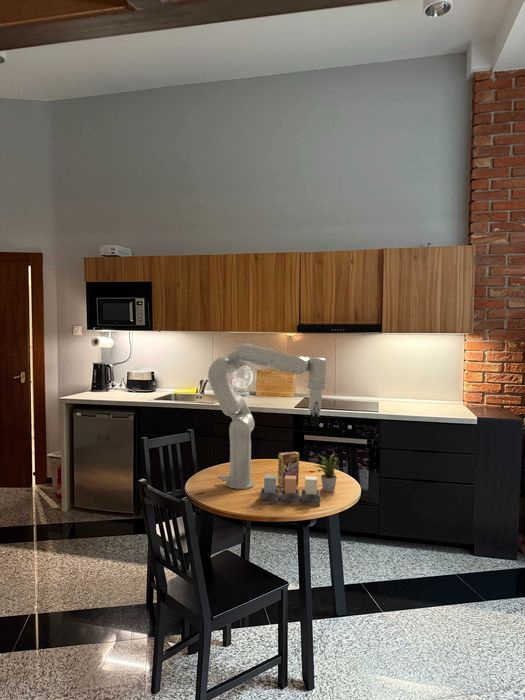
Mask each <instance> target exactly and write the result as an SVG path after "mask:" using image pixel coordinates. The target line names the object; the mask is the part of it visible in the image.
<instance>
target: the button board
mask: <svg viewBox="0 0 525 700" xmlns="http://www.w3.org/2000/svg"><path fill="white" fill-rule="evenodd" d="M280 488H281V487H276V493H264V487H261V490H260V494H259V495H260V497H259V498H260V500H259V501H260V504H261V505H276V506H277V505H280V506H281V505H282V506H284V505H285V506H308V507H311V506H314V507H320V506H321V490H320V489H317V495H312V494H305V488H302V489H301V491H300V489H299V488H296V494H285V487H282V488H281V490H280ZM300 493H301V494H300Z"/></svg>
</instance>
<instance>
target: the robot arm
mask: <svg viewBox="0 0 525 700" xmlns="http://www.w3.org/2000/svg"><path fill="white" fill-rule="evenodd" d="M249 364H250V365H254V366H259V367H263V368H268V369H273V370H278V371H280V372H286V373H290V374H294V375H302V374H304V373H308V381H307V389H309V397H308V411H309V412H310V419H309V420H310V422H311V426H312V427H320V412H321V409H322V400H323V399H322V397H323V390H325V388H326V376H327V375H326V371H327V370H326V369H327V360H326V358H324V357H308V356H301V355H299V356H295V355H290V354H286V353H281V352H278V351H277V350H275V349H272V348H268V347H264V346H263V347H262V346H257V345H253V344H251V343H242V344H240V345H238V346H237V347H236V349H235V350H234V351H232V352H230V353H229V354H227V355H226V356H221V357H218V358H216V359H215V360H214V361H213V362H212V363H211V365H210V366H209V368H208V372H207V373H208V374H207V379H208V382H209V385H210V387H211V389H212V391H213V394H214V397H215V398H216V400H217V402H218V405H219V407H220V408H221V411H222V412H223V414H224V415H225V416H227V417H230V418H231V420H232V421H231V422H230V425H229V427H228V429H229V433H228V435H229V445H230V446H229V453H230V454H229V474H227V475H220V481H222V482H226V483H225V484H226V487H227V486H228V488H229V487H230V489H233V488H235V490H245V489H247V490H248V489H251V488H253V487H254V485H255V482H254V481H253V480H251V479H252V478H251V474H252V472H251V471H252V467H251V464H252V457H251V456H252V442H251V441H252V440H251V438H252V437H251V434H252V432H253V430H254V428H255V420H254V417H253V415H252V413H251V411H250V408H249V407H248V404H247V402H246V400H245V399H244V397H243V396H242V395H241V394H240V393H236V392H235V391H234V389H233V386H232V384H231V382H230V381H229V380H228V375H230V374H231V375H232V373H235V372H236V371H238V370H240V369H241V368H242V367H245V366H246V365H249Z"/></svg>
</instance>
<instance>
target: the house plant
mask: <svg viewBox="0 0 525 700" xmlns="http://www.w3.org/2000/svg"><path fill="white" fill-rule="evenodd" d="M317 455H318V456H319V457H321V460H319V459H318V458H317V459H316V458H313V459H314V460H316V461H317V462H319V464H317V465H316V464H314V465H313V466H314V467H316V468H317V469H316V472H317V473H320V472H323V474H321V475H320V480H321V485H322V486H321V487H322V490H323V491H324V492H329V493H331V491H332V492H334V491H335V489H336V483H337V478H338V476H337V475H336V474H337V472H336V471H337V470H339V469H340V470H341V469H342V470H343V467H340V468H336V467H337V465H338V464H339V462H338V459H339V458H337V456H335V453H333V454H331V455H330V457H329V459H327V458H326V457H325V456H322V455H320V454H318V453H317ZM334 457H335V458H334ZM335 468H336V469H335Z"/></svg>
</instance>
